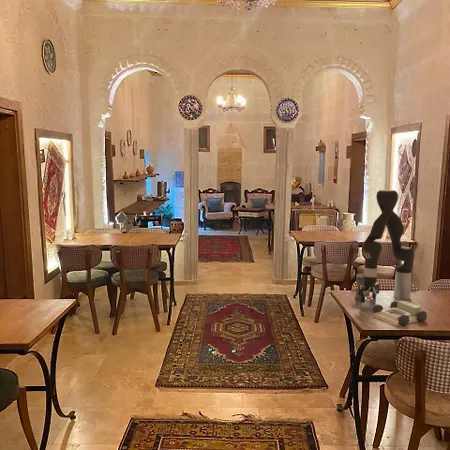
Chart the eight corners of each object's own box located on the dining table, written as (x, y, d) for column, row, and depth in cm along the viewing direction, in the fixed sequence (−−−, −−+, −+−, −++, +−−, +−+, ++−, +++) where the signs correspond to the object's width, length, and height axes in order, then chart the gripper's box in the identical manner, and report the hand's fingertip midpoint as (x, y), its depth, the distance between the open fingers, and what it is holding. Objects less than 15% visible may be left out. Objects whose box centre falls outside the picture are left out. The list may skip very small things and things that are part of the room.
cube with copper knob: (368, 306, 267) (368, 294, 266) (375, 308, 262) (375, 297, 261) (361, 307, 265) (362, 296, 263) (368, 310, 260) (369, 298, 259)
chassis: (398, 309, 261) (399, 298, 260) (427, 320, 244) (428, 308, 243) (371, 315, 251) (371, 303, 250) (399, 327, 233) (400, 314, 232)
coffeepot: (362, 302, 273) (364, 274, 270) (349, 298, 281) (351, 271, 278) (376, 297, 283) (378, 270, 280) (364, 294, 290) (365, 267, 287)
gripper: (374, 272, 267) (372, 298, 269) (356, 274, 260) (354, 301, 263) (383, 275, 260) (381, 301, 263) (366, 277, 254) (364, 305, 256)
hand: (368, 301), depth 263 cm, fingers open, 8 cm apart
